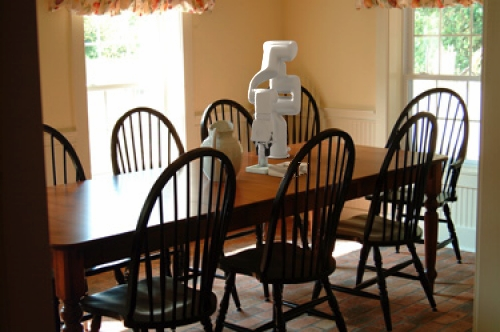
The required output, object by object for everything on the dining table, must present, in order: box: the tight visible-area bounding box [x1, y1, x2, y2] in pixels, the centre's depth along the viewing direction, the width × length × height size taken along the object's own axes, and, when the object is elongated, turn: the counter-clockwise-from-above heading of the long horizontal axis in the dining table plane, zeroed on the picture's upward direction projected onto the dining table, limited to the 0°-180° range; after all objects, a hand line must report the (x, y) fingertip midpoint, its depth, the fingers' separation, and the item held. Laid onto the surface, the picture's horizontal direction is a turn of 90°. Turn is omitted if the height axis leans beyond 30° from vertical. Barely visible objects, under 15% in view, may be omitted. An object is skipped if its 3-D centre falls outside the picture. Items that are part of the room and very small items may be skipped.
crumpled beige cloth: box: [268, 160, 308, 178], centre depth 343 cm, size 16×12×4 cm
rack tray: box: [245, 163, 274, 175], centre depth 351 cm, size 13×11×2 cm
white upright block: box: [257, 142, 269, 167], centre depth 350 cm, size 4×4×11 cm
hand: (263, 155), depth 350 cm, fingers closed on white upright block, 4 cm apart
